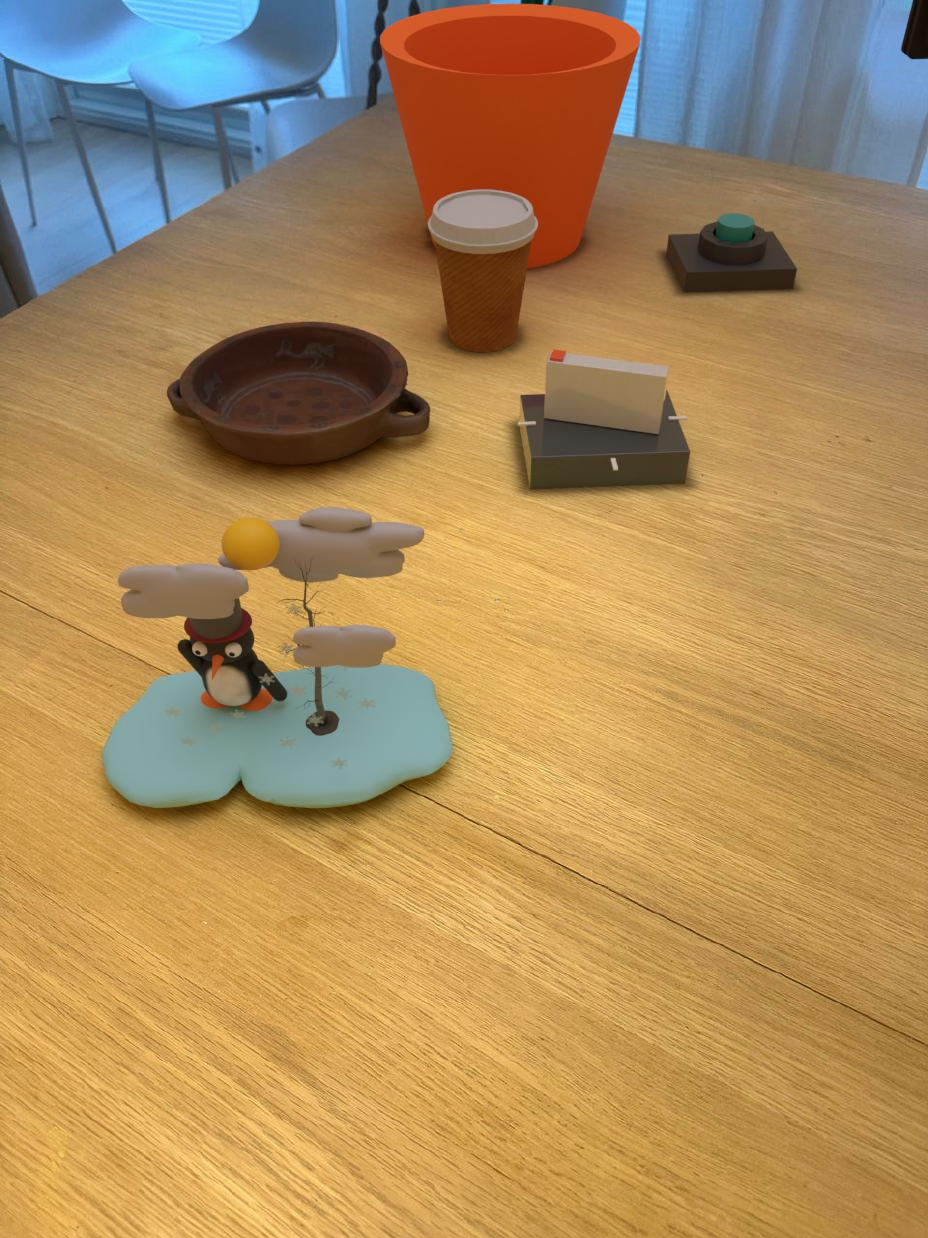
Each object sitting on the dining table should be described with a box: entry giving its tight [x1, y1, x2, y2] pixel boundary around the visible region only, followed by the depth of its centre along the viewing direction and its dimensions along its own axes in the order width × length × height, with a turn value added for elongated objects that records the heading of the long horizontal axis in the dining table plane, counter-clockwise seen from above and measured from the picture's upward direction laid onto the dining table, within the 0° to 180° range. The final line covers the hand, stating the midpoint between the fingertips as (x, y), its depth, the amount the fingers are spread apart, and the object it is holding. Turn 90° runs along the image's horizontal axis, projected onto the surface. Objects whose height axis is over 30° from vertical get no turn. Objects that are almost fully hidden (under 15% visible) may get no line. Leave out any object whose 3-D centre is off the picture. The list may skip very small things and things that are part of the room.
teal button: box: [715, 212, 756, 242], centre depth 105 cm, size 4×4×2 cm
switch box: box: [665, 221, 798, 293], centre depth 107 cm, size 11×9×4 cm
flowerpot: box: [379, 3, 641, 269], centre depth 108 cm, size 25×25×20 cm
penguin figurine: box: [101, 506, 454, 809], centre depth 57 cm, size 20×11×15 cm, turn 90°
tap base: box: [517, 389, 691, 490], centre depth 83 cm, size 13×13×3 cm
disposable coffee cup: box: [427, 190, 538, 353], centre depth 94 cm, size 10×10×12 cm
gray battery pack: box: [544, 349, 670, 434], centre depth 80 cm, size 9×2×5 cm, turn 74°
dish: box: [166, 321, 431, 465], centre depth 86 cm, size 17×22×5 cm
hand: (925, 54), depth 77 cm, fingers closed
